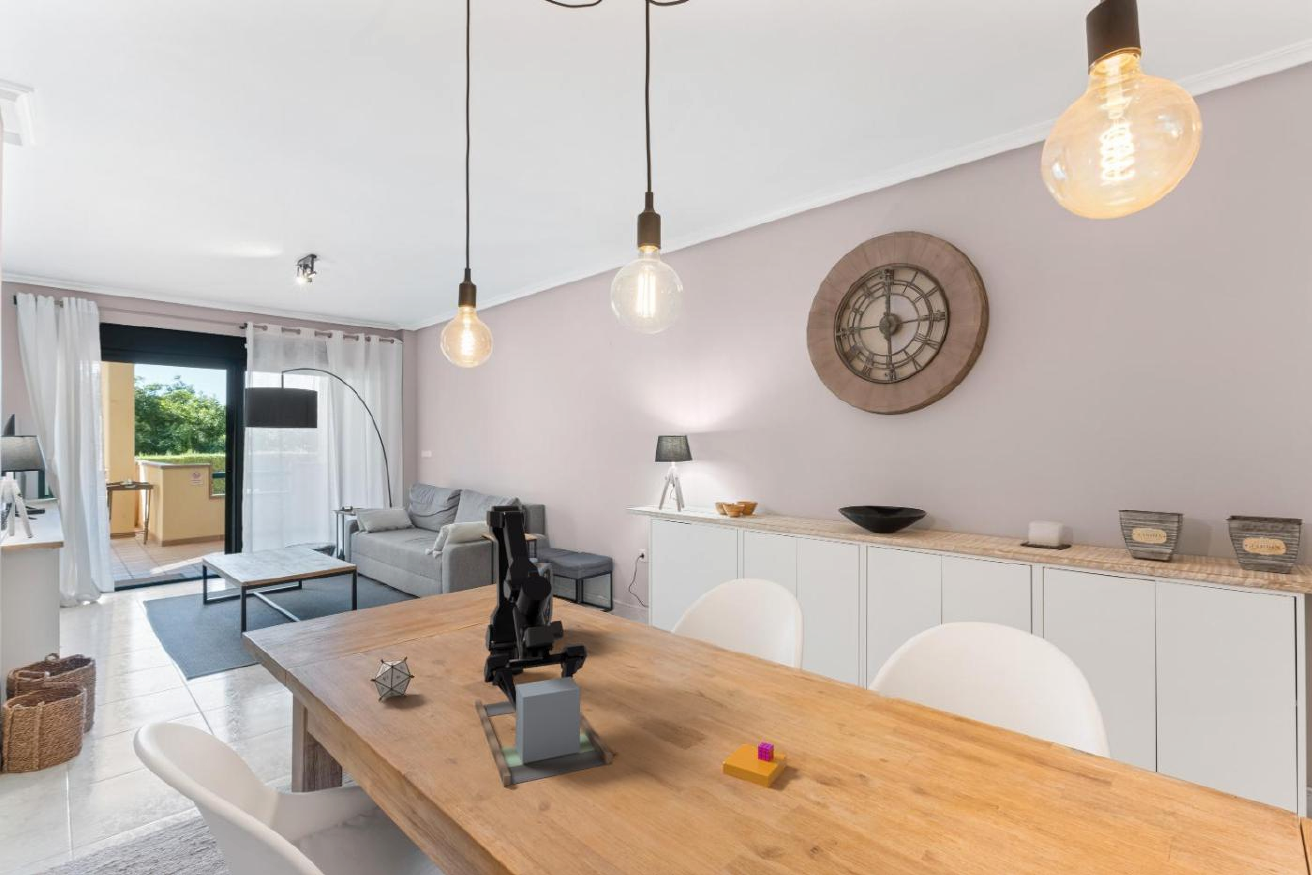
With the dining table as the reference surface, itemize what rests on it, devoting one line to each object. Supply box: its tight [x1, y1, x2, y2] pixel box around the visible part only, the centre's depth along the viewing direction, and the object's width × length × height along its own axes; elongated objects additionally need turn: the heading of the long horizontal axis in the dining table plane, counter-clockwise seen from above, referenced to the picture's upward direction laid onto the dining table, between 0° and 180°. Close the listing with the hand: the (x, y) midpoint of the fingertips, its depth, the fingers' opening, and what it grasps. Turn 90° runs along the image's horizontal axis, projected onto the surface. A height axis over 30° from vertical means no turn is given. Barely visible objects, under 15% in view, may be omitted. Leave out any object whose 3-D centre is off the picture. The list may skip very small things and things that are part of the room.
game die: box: [369, 656, 416, 702], centre depth 131 cm, size 9×8×10 cm
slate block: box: [515, 677, 581, 763], centre depth 108 cm, size 6×10×11 cm, turn 114°
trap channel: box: [474, 697, 613, 787], centre depth 115 cm, size 33×18×2 cm, turn 24°
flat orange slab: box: [722, 741, 788, 788], centre depth 102 cm, size 8×8×4 cm
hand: (543, 706), depth 111 cm, fingers open, 9 cm apart
